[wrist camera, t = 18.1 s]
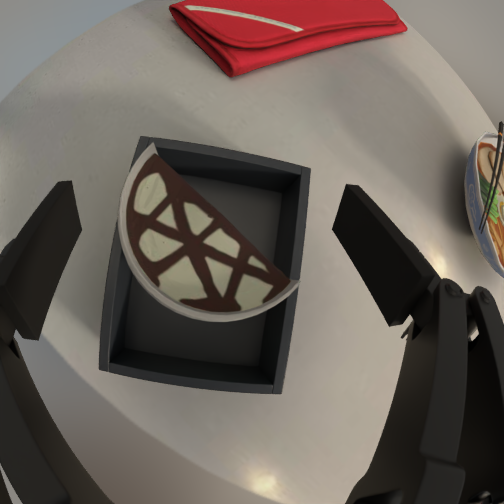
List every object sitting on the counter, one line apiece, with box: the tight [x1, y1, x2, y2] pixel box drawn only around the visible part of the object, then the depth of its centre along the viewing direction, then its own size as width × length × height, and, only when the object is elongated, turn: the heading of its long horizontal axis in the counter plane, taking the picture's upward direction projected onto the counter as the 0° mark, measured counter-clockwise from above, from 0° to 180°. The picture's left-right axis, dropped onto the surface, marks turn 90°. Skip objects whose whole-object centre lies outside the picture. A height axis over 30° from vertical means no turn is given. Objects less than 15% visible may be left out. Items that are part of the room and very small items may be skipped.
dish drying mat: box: [169, 0, 407, 77], centre depth 30 cm, size 16×41×4 cm, turn 127°
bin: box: [99, 136, 311, 394], centre depth 22 cm, size 14×18×6 cm
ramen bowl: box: [464, 122, 504, 278], centre depth 30 cm, size 25×23×8 cm
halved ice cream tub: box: [118, 143, 300, 322], centre depth 19 cm, size 12×6×10 cm, turn 47°
